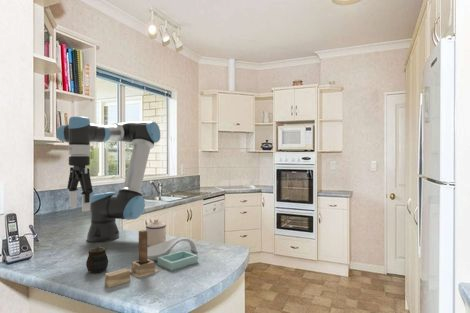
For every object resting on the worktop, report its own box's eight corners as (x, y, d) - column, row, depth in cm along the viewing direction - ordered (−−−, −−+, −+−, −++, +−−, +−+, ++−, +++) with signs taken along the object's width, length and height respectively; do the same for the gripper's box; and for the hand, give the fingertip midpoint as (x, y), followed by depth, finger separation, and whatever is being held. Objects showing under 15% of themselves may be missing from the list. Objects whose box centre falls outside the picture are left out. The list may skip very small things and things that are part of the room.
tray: (157, 266, 118) (157, 257, 118) (183, 258, 126) (183, 250, 126) (171, 272, 111) (171, 263, 111) (197, 263, 120) (197, 255, 120)
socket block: (127, 273, 111) (127, 262, 110) (147, 267, 116) (147, 256, 116) (138, 279, 105) (138, 267, 105) (159, 273, 111) (159, 262, 111)
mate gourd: (105, 266, 118) (105, 239, 118) (111, 272, 112) (110, 244, 111) (84, 270, 113) (84, 243, 113) (89, 277, 107) (89, 248, 107)
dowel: (137, 270, 111) (137, 231, 110) (144, 268, 113) (144, 229, 113) (141, 272, 108) (141, 232, 108) (149, 270, 111) (149, 231, 110)
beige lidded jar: (169, 244, 146) (169, 219, 146) (152, 248, 140) (152, 222, 140) (156, 239, 155) (156, 215, 155) (139, 242, 148) (139, 218, 148)
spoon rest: (145, 266, 118) (145, 247, 118) (135, 258, 128) (135, 240, 127) (200, 255, 131) (200, 238, 131) (188, 248, 141) (188, 232, 141)
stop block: (105, 286, 100) (105, 273, 100) (125, 279, 105) (125, 268, 105) (109, 289, 98) (109, 276, 98) (130, 282, 103) (130, 270, 103)
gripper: (58, 155, 130) (58, 206, 130) (81, 155, 113) (81, 214, 113) (77, 155, 136) (77, 204, 136) (102, 155, 118) (102, 211, 118)
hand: (79, 208), depth 124 cm, fingers open, 13 cm apart
